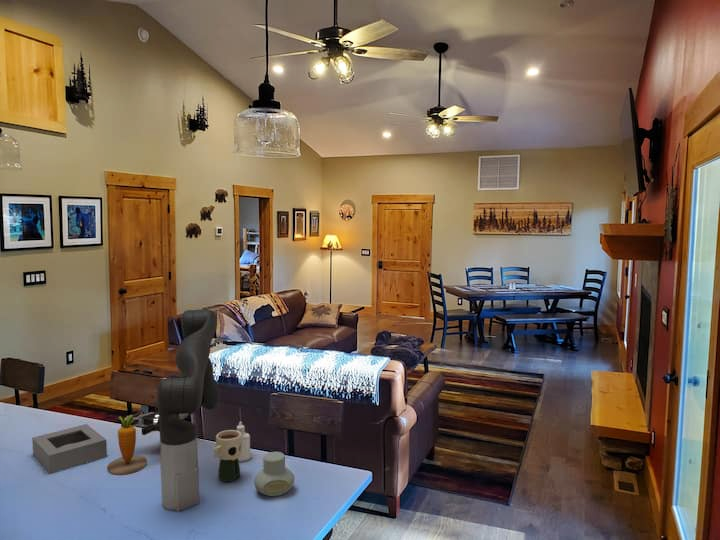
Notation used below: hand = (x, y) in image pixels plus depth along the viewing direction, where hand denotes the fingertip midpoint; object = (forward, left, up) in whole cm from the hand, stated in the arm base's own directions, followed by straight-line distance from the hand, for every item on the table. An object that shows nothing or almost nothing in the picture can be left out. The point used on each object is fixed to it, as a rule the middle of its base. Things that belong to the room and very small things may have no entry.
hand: (132, 429), depth 159 cm
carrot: (-1, +2, -10) cm, 10 cm away
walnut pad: (-1, +2, -11) cm, 11 cm away
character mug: (-29, -16, -11) cm, 35 cm away
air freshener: (-44, -21, -11) cm, 50 cm away
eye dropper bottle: (-21, -25, -11) cm, 34 cm away
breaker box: (+19, +12, -11) cm, 25 cm away
